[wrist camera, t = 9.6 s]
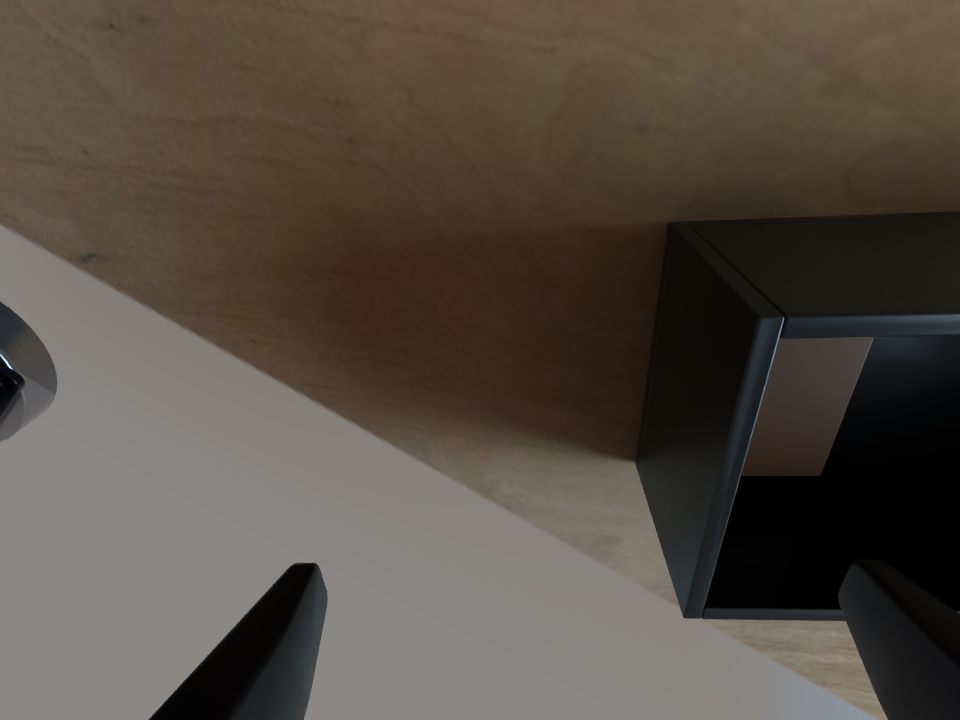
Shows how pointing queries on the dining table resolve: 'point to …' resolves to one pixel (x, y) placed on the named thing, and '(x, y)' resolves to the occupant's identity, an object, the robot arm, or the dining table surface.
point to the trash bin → (861, 435)
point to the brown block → (804, 404)
